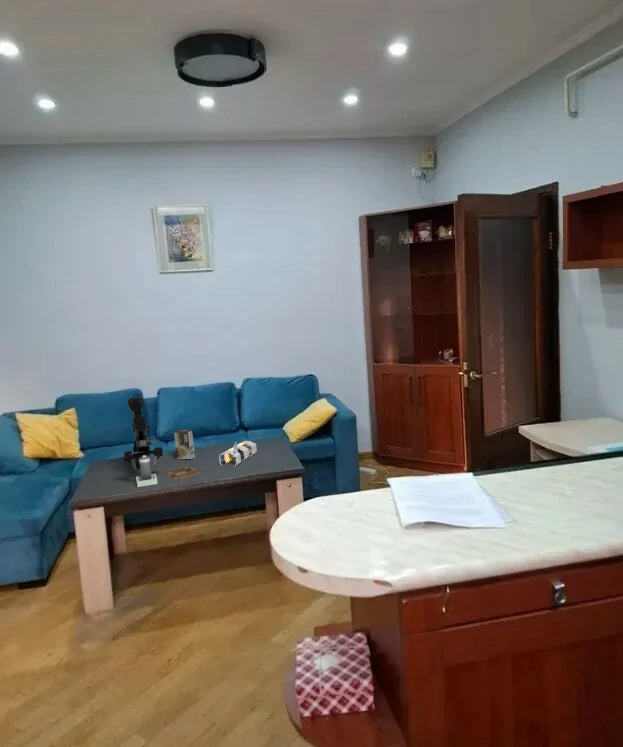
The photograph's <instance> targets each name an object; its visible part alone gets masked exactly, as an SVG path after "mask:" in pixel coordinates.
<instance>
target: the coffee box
mask: <svg viewBox="0 0 623 747" xmlns="http://www.w3.org/2000/svg"><path fill="white" fill-rule="evenodd" d="M173 436H174V443H175V445H174V446H175V454H176V460H177V459H191V460H193V459H194V458H196V450H195V440H194V430H193V429H178V430H176V431H174V433H173ZM192 458H193V459H192Z"/></svg>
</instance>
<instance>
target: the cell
mask: <svg viewBox="0 0 623 747" xmlns="http://www.w3.org/2000/svg"><path fill="white" fill-rule="evenodd" d="M139 463H140V468H139V469H140V470H139V471H140V476H141V481H144V480H150V479H152V477H151V474H152V469H151V459H150V456H146V455H144V456H142V457H140V458H139Z"/></svg>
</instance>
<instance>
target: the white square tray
mask: <svg viewBox="0 0 623 747" xmlns="http://www.w3.org/2000/svg"><path fill="white" fill-rule="evenodd" d="M151 477H152V479H150V480H144V481H141V475H139V476H136V477H135V480H136V481H135V482H136V485H137V488H140V487H146V486H147V487H148V486H151V485H158V477H157V474H156V473H151Z"/></svg>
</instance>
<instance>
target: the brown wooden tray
mask: <svg viewBox="0 0 623 747" xmlns="http://www.w3.org/2000/svg"><path fill="white" fill-rule="evenodd" d="M199 474H200V472H198V470H197V469H195V468H191V467H186V466H181V467H178V468H176V469H172V470H170V471H166V475H164V477H165V478H168V479H169V478H170V479H172V480H173V479H174V480H178V481H182V480H185V479H188V478H190V477H194V476H195V475H199Z"/></svg>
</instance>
